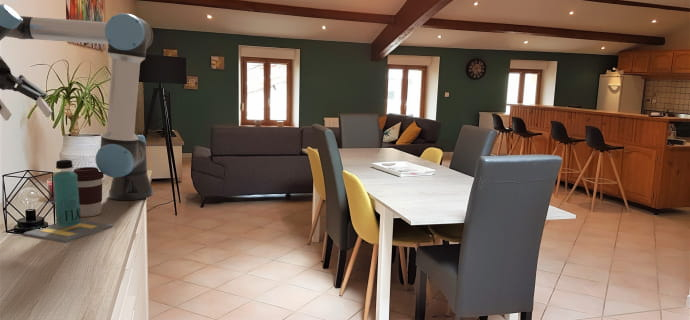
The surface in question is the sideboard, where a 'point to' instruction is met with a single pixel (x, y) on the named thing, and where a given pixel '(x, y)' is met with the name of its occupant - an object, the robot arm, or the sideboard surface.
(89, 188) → the coffee cup
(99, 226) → the letter board
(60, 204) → the beverage bottle
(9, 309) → the sideboard surface
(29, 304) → the sideboard surface
